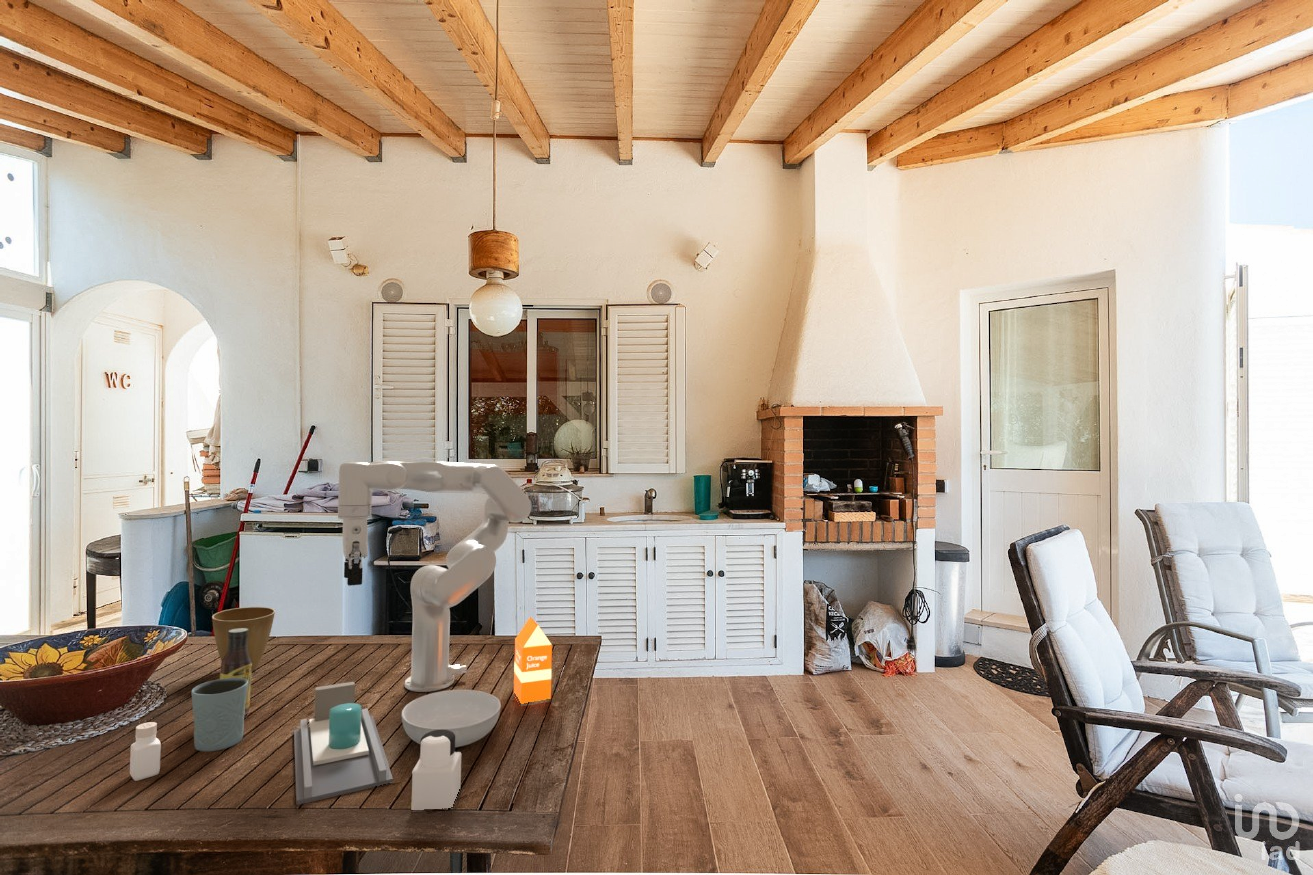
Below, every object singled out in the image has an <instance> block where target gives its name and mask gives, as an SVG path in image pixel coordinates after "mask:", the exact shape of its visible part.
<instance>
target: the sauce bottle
mask: <svg viewBox="0 0 1313 875" xmlns="http://www.w3.org/2000/svg"><path fill="white" fill-rule="evenodd" d="M248 631H249V630H248V629H247V628H238V629H232V630H229V631H228V638H229V643H228V652H227V653H226V655H225V656H224V658H223V659H222V661H221V663H220V673H219V679H225V678H243V679H246V680H248V690H247V698H246V703H245V715H244V716H246V715H247V714H248V713H249V710H250V705H251V689H252V688H251V687H252V686H251V685H252V672H253V671H252V662H251V660H250V656H249V653H248V649H247V636H248V634H249V633H248Z"/></svg>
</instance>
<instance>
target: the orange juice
mask: <svg viewBox="0 0 1313 875" xmlns="http://www.w3.org/2000/svg"><path fill="white" fill-rule="evenodd" d="M552 654H553V644H552V643H551V641H550V640H549V639H548V637H547V636H546V634H545V633H544V631H543V629H542V628H541V627H540V625H539V624H538V623H537V622H536V621H535V620H534V619H533V618H532V617H531V616H529V618H528V619H527V621H526V622H525V624H524V625H523V627H522V628H521V630H520V631H519V633H518V635H517V636H516V637H515V638H514V668H513V670H514V671H513V672H514V674H513V675H514V676H513V677H514V678H513V694H514V693H515V694H516V696H517V697H518V699H519V701H520V703H521V704H524V703H528V702H534V701H541V700H546V699H551V698H552V697H551V696H552V663H553V662H552Z"/></svg>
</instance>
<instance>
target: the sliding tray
mask: <svg viewBox="0 0 1313 875" xmlns="http://www.w3.org/2000/svg"><path fill="white" fill-rule="evenodd" d="M355 689H356V684H355V681H347V682H343V683H342V682H341V683H335V684H330V685H329V684H328V685H323V686H317V687H315V689H314V716H313V717H314V718H309V722H308V724H309V727H310V736H311V748H312V759H313V766H314V765H319V764H324V763H329V762H334V761H339V760H344V759H348V758H353V757H358V756H363V755H368V754H369V749H368V746H367V742H366V738H365V735H364V731H363V727H362V724H361V737H360V742H359V743H358V744H357V745H355V746H353V747H350V748H346V749H332V748H330V747H329V714H330V709H331V708H333V707H335V706H338V705H341V704H347V703H355V698H356V696H355V694H356V690H355Z"/></svg>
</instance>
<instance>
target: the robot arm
mask: <svg viewBox="0 0 1313 875" xmlns="http://www.w3.org/2000/svg"><path fill="white" fill-rule="evenodd" d="M397 490H411V491H412V490H413V491H419V492H426V493H435V494H436V493H437V494H482V495H487V496H488V497H487V498H486V500H485V503H484V513H483V519H482V522H481V523H480V524H479V526H478V527H477V528H476V529H474V530H473V531H472V532H470V533H469V534H468V535H467V536H466V537H465V538H463V539H462V540H461V541H459V542H458V543H456V544H455V545H454V546H453V547H451V549H449V550H448V553H447V554H446V557H445V564H446V567H447V568H445V567H442V566H439V565H434V564H430V565H425V566H422V567H420V568H418V570H416V571H415V573H414V574H413V576H412V577H411V581H410V595H411V596H410V598H411V606H412V627H411V628H412V630H411V631H412V632H411V636H412V637H411V662H410V663H411V664H410V676H409V677H407V678H406V679H405V680H404V687H405V689H407V690H409V691H412V692H416V693H417V692H419V693H424V692H425V693H427V692H437V691H440V690H441V691H442V690H444V689H446V688H448V687H450V686H451V685H453V684H454V682H455V675H457V674H459V675H460V674H466V673H467V670H468V669H467V665H461V666H460V664H453V665H451V664H450V662H449V661H450V632H451V631H450V627H451V626H450V625H451V611H450V610H451V609H450V608H452V607H454V606H457V605H458V604H460V603H461V602H462V601H464V600H465V599H466V598H467V597H469V596H470V594H472V593H473V592H474V591H476V590H477V589H478V588H479V587H481V585H482V584H484V583H485V582H486V581H487V580H488V579H489V578H490V577H491V576H492V574H493V573H494V571H495V569H496V565H497V556H496V553H495V552H496V551H498V549H499V548H501V547H502V545H503V544H504V542H506V538H507V537H508V536H507V535H508V531H509V522H510V523H520V522H523V521H525V520H526V519H527V518H528V517H529V515H530V514H531V510H532V503H531V501H530V500H531V499H530V498H529V496H528V495H527V494H526V492H524V491H523V489H521V487H520V486H519V485H518V483H516V481H515V480H514V479H513V478H512V477H511V476H510V475H509V473H507V472H506V471H505V470H504V469H503V468H502V467H500V466H499V465H496V464H493V463H492V464H491V463H489V464H488V463H478V462H477V463H476V462H475V463H474V462H471V463H470V462H454V461H453V462H452V461H451V462H450V461H419V462H418V461H416V462H415V461H392V460H390V461H389V460H375V461H372V462H370V463H369V462H366V461H365V462H364V461H347V462H343V463H340V465H339V469H338V498H337V504H338V505H337V519H339V520H342V553H343V556H344V560H345V561H344V562H343V564H344V565H343V566H344V567H343V577H344V578H345V579H346V581H347V583H346V584H347V586H348V587H350V586H360V585H362V584H363V560H362V559H364V560H365V559H367V558H368V519H370V518H372V506H373V505H372V504H373V503H372V502H373V501H372V500H373V499H372V498H373V491H384V492H394V491H397Z"/></svg>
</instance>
